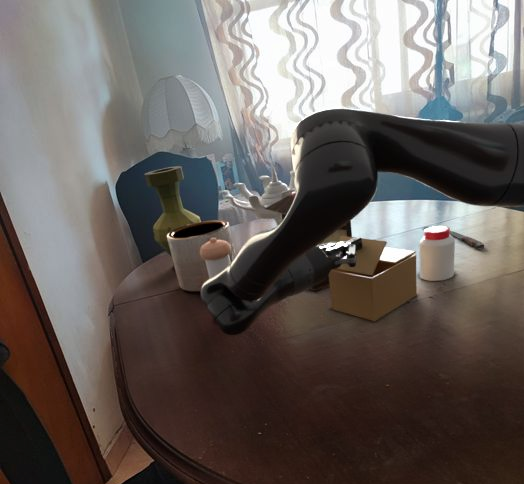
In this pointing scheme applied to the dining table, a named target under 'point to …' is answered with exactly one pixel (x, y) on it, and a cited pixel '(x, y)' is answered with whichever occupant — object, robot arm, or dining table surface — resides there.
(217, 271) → the pepper shaker
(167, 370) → the dining table surface
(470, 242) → the knife
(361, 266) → the flap
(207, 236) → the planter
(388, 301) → the carton
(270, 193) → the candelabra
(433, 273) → the pill bottle
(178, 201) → the vase
